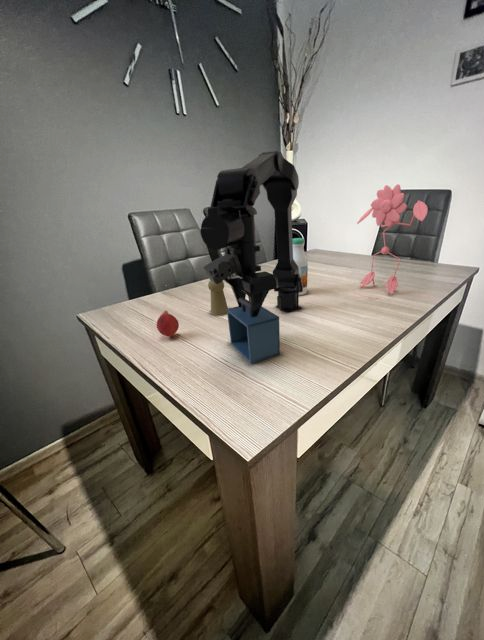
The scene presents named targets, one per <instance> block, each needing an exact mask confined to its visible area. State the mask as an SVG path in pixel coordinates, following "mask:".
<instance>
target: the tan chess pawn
mask: <svg viewBox="0 0 484 640" xmlns="http://www.w3.org/2000/svg"><path fill="white" fill-rule="evenodd" d="M207 283H208V284H207V286H208V287H207V288H208V289H209V292H210V313H211V315H213V316H222V315H226V314H227V309H229V307H228V303H227V299H226V295H225V292H224V291H225V290H224V288H225V281H223V282H221V283H219V284H215V283H214V282H212V281H210V280H209V281H208V282H207Z"/></svg>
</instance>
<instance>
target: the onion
mask: <svg viewBox="0 0 484 640" xmlns="http://www.w3.org/2000/svg"><path fill="white" fill-rule="evenodd" d="M179 324H180V323H179V320H178V319H177V318H176V317H175V316H174V315H173V314H171V313H169V311H168V310H163V312H162V313H161V314H160V315H159V317H158V318H157V321H156V328H157V331H158V332H159V333H160V334H161V335H162V336H165V337H169V338H172V337H173V336H174V335H175V334H176V333H177V332H178V330H179V328H180V325H179Z"/></svg>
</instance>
